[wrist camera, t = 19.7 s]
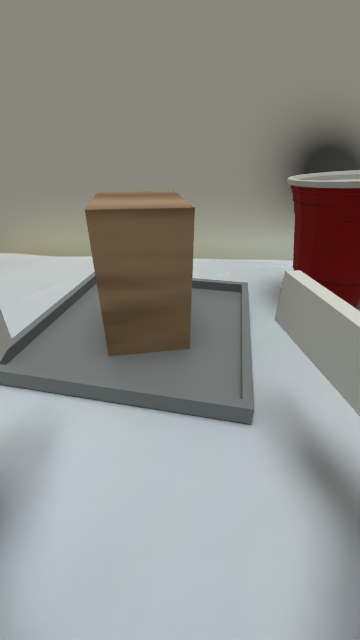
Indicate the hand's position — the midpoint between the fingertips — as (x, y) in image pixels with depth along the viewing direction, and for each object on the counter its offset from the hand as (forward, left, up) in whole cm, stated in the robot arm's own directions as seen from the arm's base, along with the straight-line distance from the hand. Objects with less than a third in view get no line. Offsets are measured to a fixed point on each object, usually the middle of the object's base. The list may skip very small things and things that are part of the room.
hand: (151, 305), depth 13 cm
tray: (-3, +8, -7) cm, 11 cm away
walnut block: (-3, +8, -6) cm, 11 cm away
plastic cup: (+13, +16, -7) cm, 22 cm away
